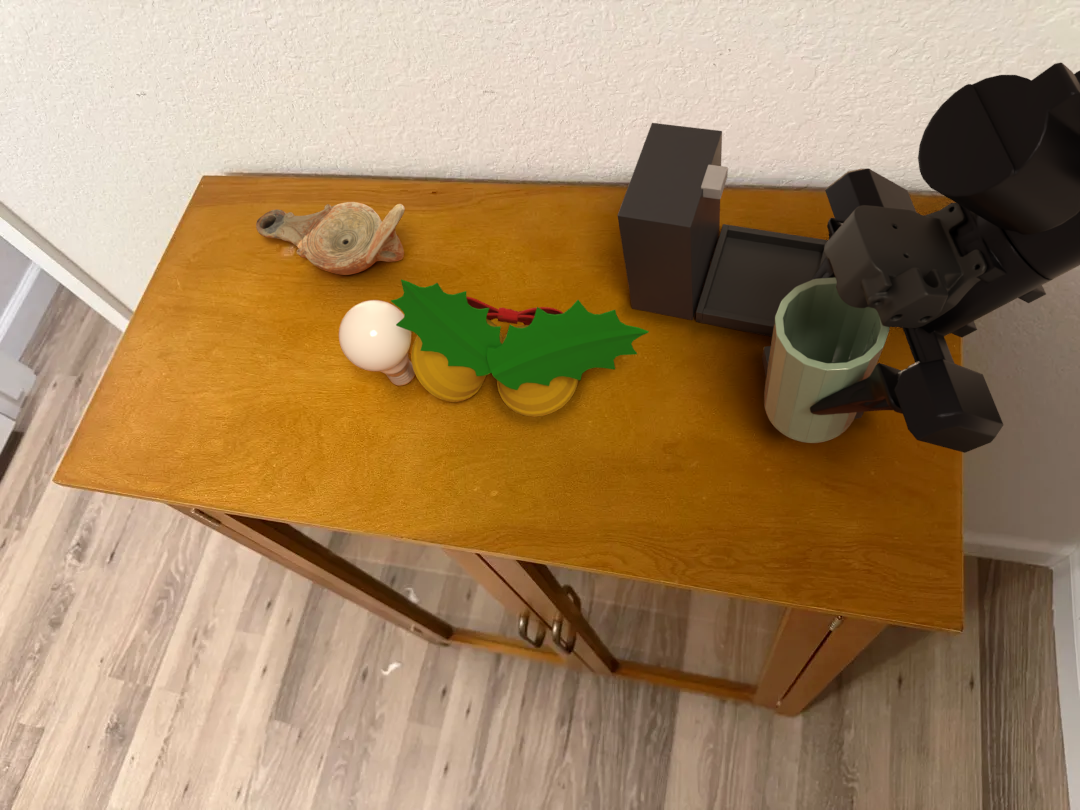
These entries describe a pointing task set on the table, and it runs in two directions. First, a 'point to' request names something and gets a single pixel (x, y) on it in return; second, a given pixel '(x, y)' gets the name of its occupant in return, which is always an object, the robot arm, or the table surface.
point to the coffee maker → (703, 240)
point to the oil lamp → (338, 235)
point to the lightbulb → (377, 340)
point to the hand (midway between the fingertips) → (800, 365)
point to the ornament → (508, 347)
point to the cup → (818, 358)
